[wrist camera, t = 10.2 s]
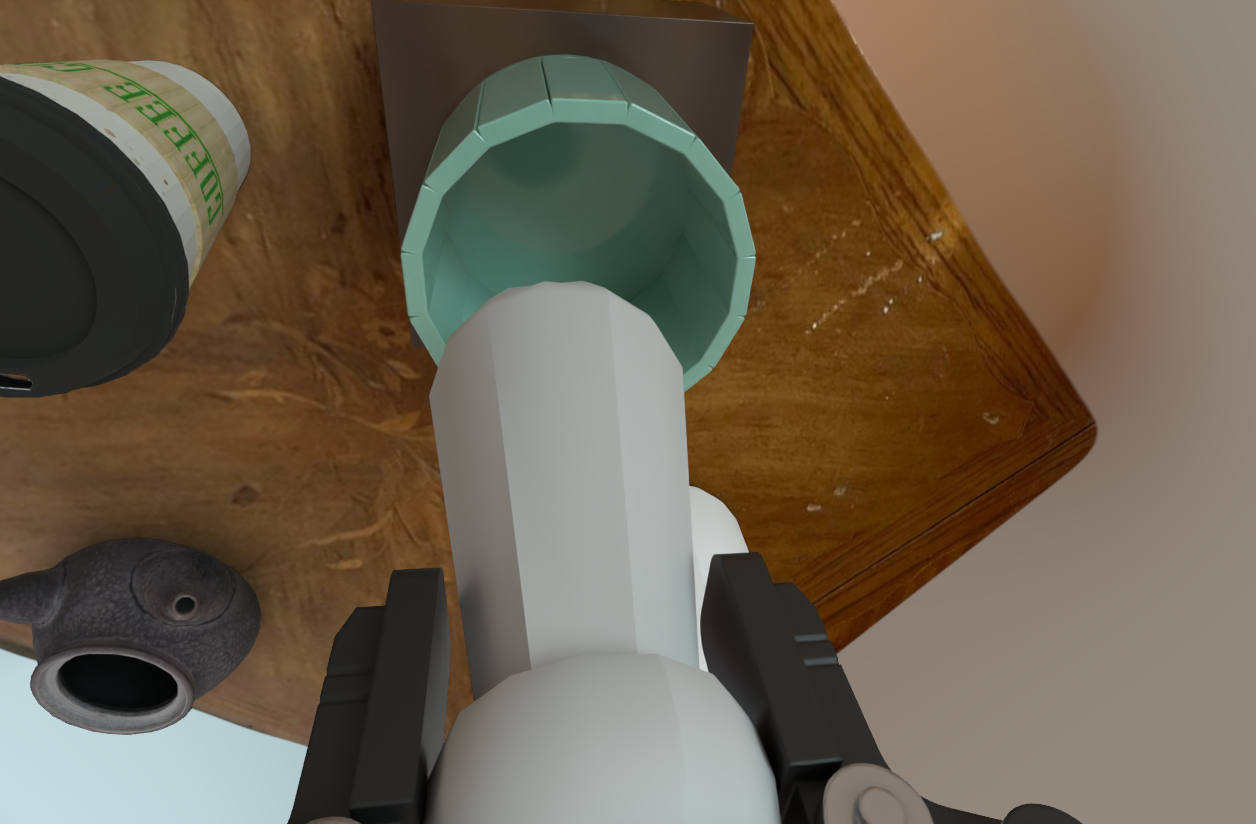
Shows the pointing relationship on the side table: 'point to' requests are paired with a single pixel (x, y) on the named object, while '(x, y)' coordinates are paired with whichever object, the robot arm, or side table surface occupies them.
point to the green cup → (579, 207)
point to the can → (710, 544)
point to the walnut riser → (550, 25)
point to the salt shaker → (579, 578)
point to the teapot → (132, 632)
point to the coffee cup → (105, 213)
